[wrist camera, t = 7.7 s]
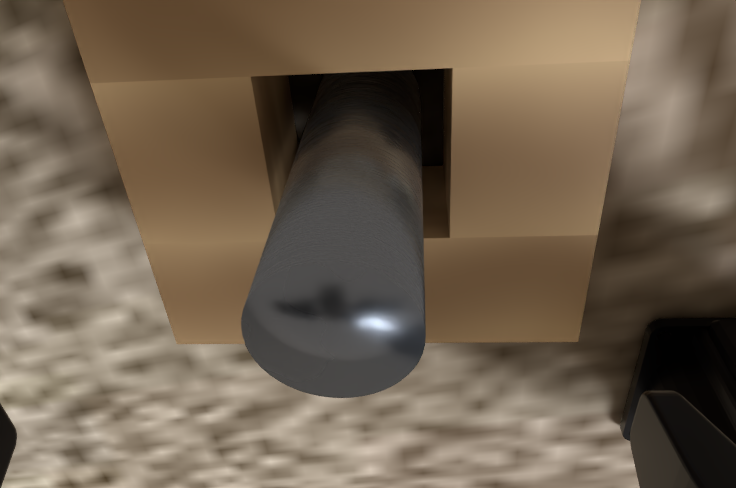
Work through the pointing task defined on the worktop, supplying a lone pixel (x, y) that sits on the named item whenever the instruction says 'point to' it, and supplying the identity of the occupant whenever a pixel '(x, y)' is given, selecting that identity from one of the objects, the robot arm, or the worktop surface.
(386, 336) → the pin
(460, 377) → the worktop surface
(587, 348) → the worktop surface
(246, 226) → the socket block
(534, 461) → the worktop surface
